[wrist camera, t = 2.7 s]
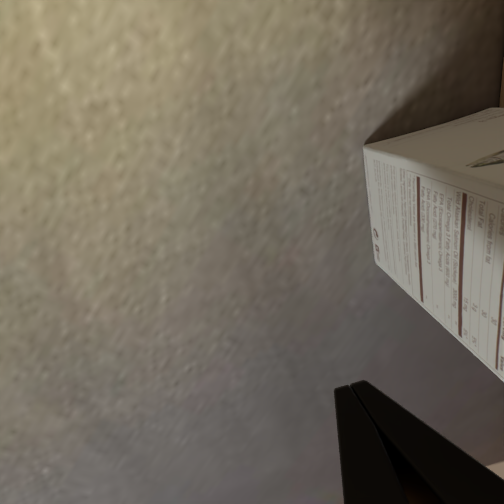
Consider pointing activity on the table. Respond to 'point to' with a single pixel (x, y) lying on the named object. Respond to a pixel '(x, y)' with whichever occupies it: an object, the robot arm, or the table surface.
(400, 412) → the robot arm
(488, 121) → the supplement box
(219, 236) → the table surface
